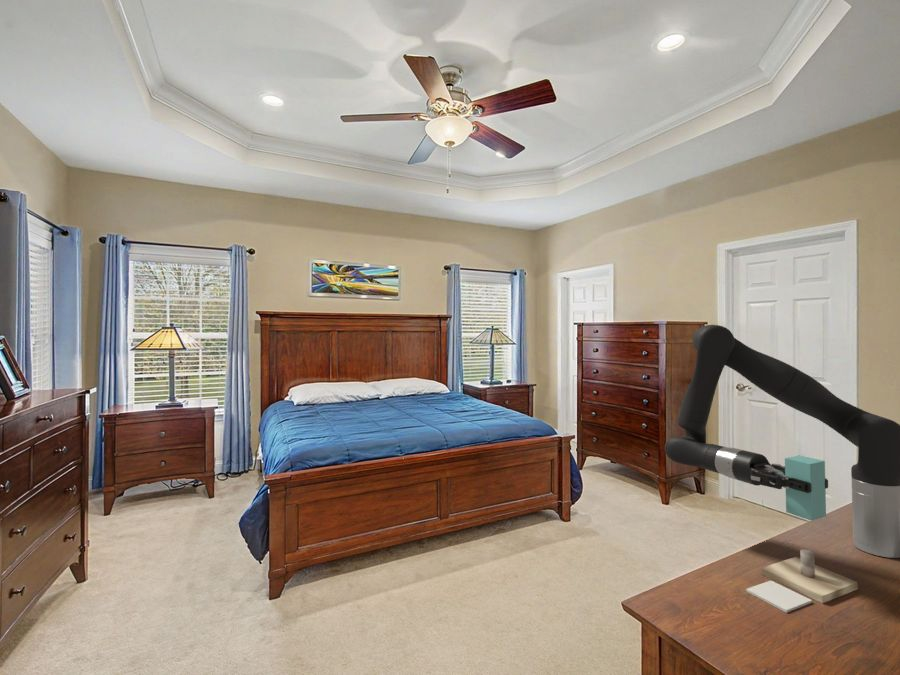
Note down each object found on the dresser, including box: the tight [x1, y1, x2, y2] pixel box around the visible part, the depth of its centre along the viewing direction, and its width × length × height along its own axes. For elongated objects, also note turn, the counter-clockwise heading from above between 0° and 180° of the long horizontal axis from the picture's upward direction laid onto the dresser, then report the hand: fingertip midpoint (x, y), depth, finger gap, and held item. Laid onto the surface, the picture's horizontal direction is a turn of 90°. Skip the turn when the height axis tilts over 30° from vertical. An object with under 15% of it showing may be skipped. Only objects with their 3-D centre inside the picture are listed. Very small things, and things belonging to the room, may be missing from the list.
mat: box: [745, 580, 813, 614], centre depth 92 cm, size 8×8×1 cm
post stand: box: [761, 548, 859, 604], centre depth 98 cm, size 12×12×6 cm
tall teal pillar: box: [784, 455, 827, 522], centre depth 97 cm, size 5×5×12 cm
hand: (818, 486), depth 95 cm, fingers closed on tall teal pillar, 5 cm apart
